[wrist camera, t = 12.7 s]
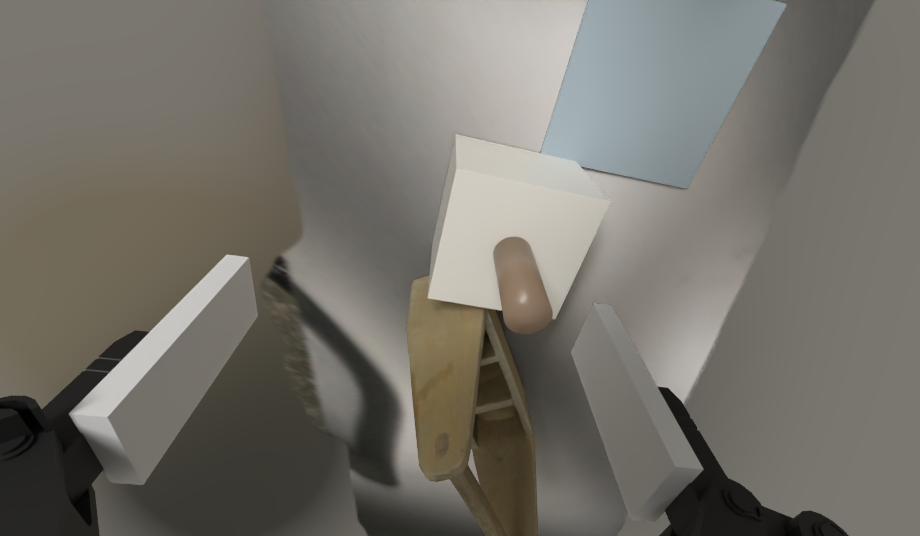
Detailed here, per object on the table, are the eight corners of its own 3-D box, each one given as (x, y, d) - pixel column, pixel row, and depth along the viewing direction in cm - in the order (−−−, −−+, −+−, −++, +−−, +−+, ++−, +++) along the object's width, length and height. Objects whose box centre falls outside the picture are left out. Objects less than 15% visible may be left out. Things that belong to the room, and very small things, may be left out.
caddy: (525, 390, 69) (570, 599, 43) (470, 403, 70) (481, 612, 45) (479, 259, 54) (505, 458, 29) (410, 279, 56) (376, 486, 30)
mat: (603, -48, 36) (604, -49, 36) (784, 4, 39) (786, 4, 39) (538, 156, 47) (539, 157, 46) (685, 187, 49) (686, 188, 49)
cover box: (455, 134, 45) (457, 215, 26) (576, 161, 47) (658, 255, 28) (432, 244, 53) (421, 366, 34) (536, 263, 55) (579, 388, 36)
